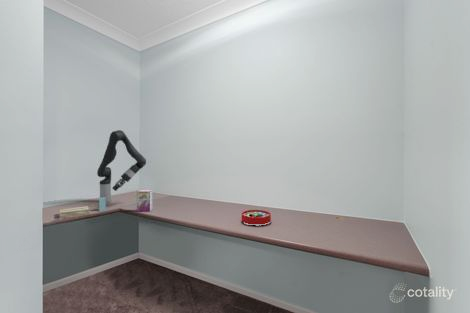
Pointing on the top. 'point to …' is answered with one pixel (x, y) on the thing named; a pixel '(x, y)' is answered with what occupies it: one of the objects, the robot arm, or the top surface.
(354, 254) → the top surface
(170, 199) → the top surface
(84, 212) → the birch plinth
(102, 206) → the teal block
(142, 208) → the candy bar box
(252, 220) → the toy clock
